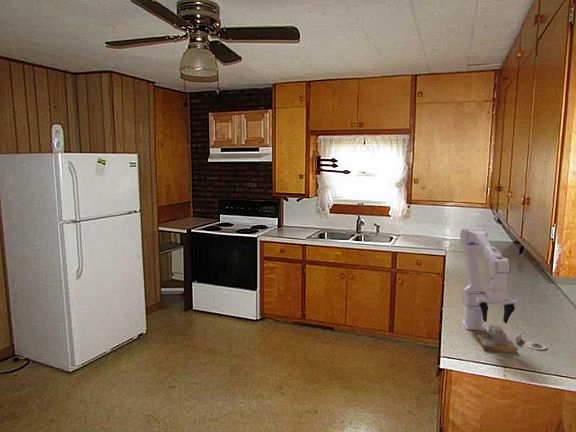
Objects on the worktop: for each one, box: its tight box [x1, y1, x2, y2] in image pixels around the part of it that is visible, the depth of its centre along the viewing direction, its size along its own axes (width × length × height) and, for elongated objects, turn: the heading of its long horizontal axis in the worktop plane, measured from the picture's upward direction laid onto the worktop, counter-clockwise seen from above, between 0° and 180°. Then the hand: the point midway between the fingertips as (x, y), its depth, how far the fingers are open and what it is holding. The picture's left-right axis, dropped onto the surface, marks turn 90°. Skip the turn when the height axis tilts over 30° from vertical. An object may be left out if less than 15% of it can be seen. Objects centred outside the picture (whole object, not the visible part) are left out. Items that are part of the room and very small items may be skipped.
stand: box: [476, 333, 519, 354], centre depth 163 cm, size 10×12×2 cm
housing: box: [487, 324, 507, 345], centre depth 163 cm, size 8×4×5 cm, turn 170°
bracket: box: [515, 331, 547, 351], centre depth 164 cm, size 7×10×4 cm, turn 47°
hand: (494, 321), depth 163 cm, fingers open, 7 cm apart
